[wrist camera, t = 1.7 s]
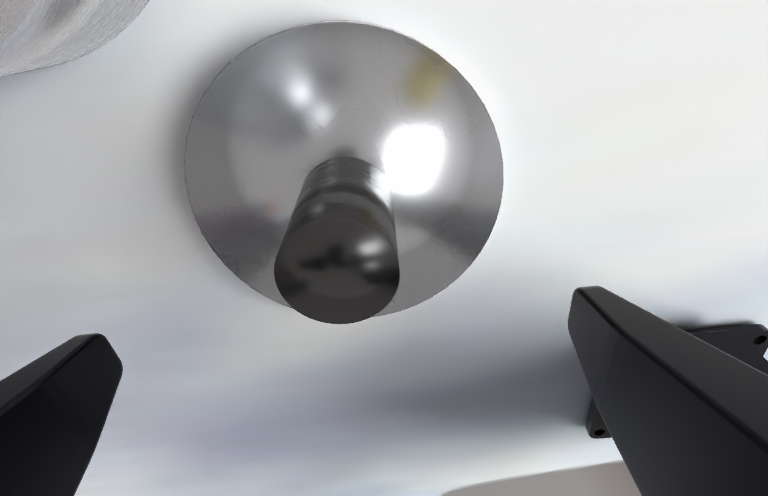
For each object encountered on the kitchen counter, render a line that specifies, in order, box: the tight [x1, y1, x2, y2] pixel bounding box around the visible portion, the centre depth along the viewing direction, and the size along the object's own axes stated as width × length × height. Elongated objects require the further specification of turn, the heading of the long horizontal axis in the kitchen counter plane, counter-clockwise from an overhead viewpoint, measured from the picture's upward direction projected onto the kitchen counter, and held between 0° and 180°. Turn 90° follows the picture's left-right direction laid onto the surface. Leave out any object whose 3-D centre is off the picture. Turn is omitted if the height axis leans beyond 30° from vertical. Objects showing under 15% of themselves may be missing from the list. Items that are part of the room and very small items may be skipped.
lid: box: [184, 20, 503, 324], centre depth 11 cm, size 10×10×5 cm
